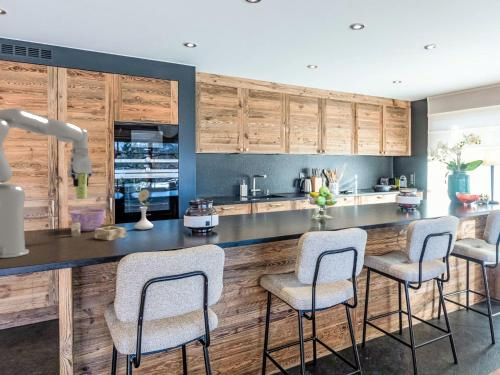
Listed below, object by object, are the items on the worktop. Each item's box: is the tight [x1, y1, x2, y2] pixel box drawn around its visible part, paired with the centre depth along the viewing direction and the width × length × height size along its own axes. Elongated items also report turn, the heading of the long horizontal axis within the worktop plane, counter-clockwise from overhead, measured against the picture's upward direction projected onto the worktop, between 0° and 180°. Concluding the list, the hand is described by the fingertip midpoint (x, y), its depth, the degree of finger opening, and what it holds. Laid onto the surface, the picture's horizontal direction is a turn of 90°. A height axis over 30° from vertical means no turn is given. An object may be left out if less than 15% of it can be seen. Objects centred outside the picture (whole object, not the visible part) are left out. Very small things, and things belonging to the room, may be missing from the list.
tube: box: [75, 173, 88, 200], centre depth 191 cm, size 6×5×20 cm
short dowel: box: [70, 222, 81, 238], centre depth 200 cm, size 4×4×7 cm
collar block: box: [94, 225, 127, 241], centre depth 196 cm, size 11×12×5 cm
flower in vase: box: [133, 189, 154, 230], centre depth 220 cm, size 13×11×25 cm
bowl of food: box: [69, 208, 106, 232], centre depth 218 cm, size 20×20×12 cm
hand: (81, 185), depth 191 cm, fingers closed on tube, 5 cm apart
